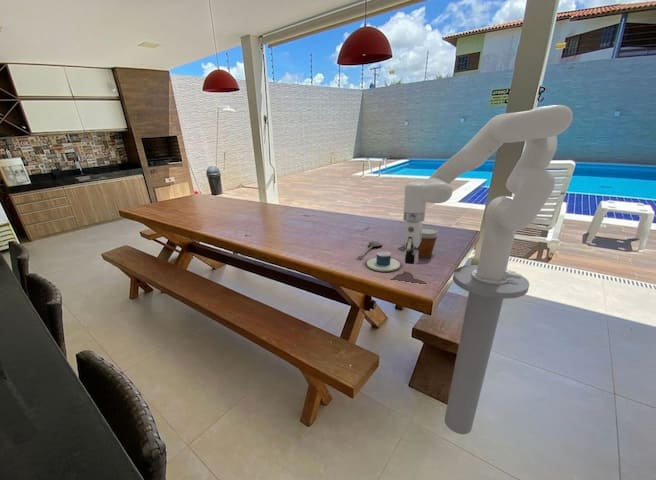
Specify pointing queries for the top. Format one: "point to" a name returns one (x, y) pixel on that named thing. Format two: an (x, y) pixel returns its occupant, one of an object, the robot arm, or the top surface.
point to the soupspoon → (372, 244)
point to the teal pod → (383, 258)
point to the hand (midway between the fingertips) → (410, 260)
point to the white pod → (414, 256)
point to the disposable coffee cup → (427, 242)
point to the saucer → (393, 266)
